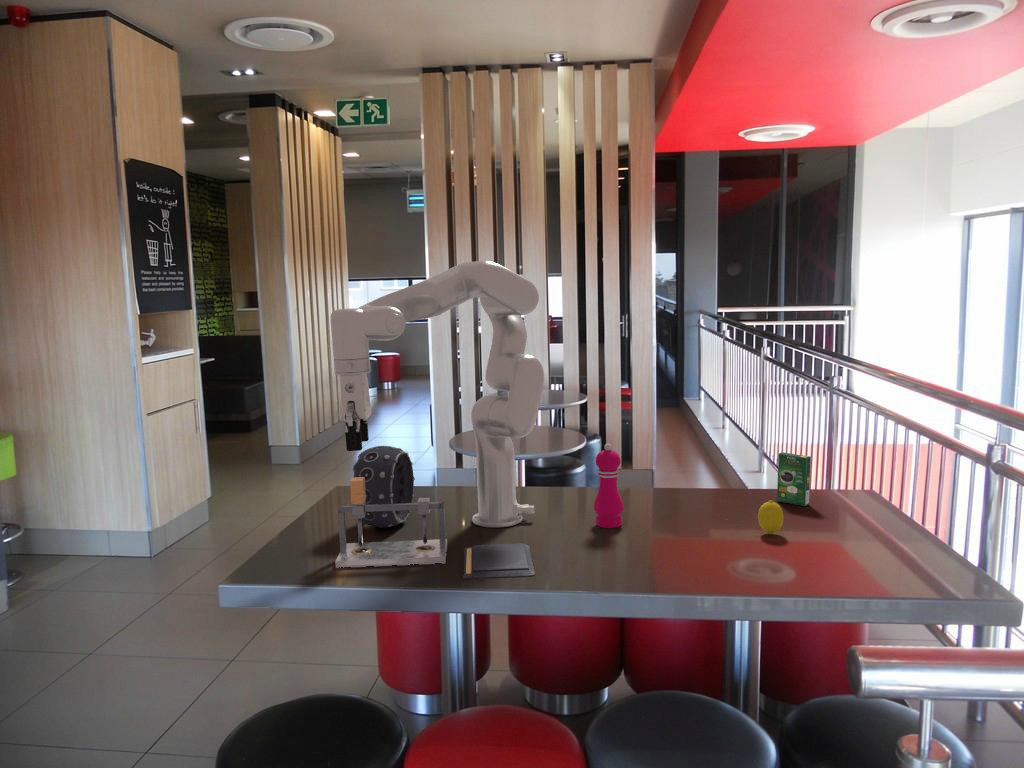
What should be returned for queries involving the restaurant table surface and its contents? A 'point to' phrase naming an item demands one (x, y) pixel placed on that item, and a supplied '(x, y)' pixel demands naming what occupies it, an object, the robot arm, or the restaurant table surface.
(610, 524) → the pepper mill
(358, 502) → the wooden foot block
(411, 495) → the ring
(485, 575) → the dark grey flat slab
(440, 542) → the switch panel
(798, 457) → the coffee box
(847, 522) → the restaurant table surface
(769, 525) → the lemon
